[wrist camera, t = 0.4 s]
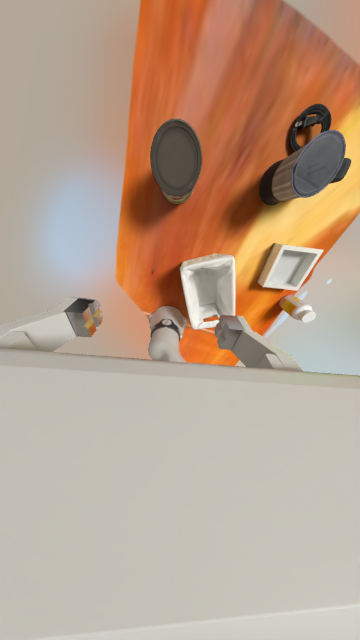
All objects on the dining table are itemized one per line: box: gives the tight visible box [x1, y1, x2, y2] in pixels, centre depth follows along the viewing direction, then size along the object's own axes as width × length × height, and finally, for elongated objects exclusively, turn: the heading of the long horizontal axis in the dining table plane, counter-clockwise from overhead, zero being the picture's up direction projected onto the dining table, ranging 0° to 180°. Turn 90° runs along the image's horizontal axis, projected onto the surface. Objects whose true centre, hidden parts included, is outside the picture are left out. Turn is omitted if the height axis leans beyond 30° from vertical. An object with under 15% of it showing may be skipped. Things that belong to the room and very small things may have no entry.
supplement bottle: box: [279, 295, 316, 322], centre depth 55 cm, size 7×7×13 cm
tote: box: [257, 243, 324, 290], centre depth 50 cm, size 14×14×5 cm
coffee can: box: [150, 119, 202, 204], centre depth 33 cm, size 10×10×14 cm
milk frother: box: [260, 104, 351, 205], centre depth 31 cm, size 14×16×15 cm
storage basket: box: [180, 254, 235, 329], centre depth 50 cm, size 24×16×15 cm
